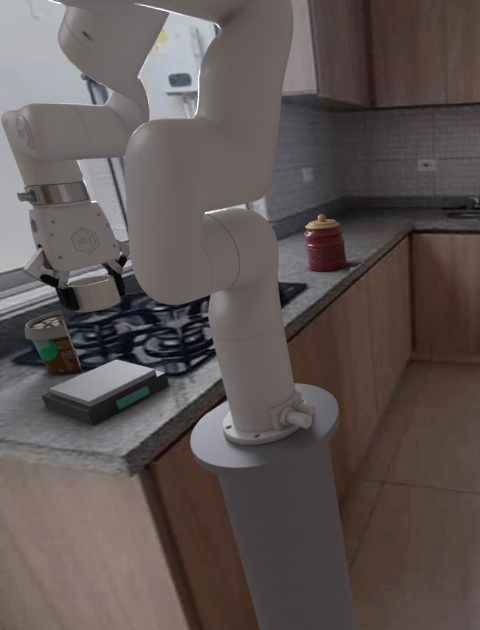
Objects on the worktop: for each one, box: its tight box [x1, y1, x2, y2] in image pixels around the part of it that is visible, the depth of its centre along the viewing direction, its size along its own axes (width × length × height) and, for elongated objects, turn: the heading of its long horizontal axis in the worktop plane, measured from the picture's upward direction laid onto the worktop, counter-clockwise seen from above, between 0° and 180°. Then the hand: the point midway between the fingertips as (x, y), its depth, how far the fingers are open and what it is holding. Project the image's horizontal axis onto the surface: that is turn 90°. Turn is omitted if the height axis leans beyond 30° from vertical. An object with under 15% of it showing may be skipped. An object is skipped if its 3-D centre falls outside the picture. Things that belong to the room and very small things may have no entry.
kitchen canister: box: [303, 213, 348, 272], centre depth 147 cm, size 13×13×18 cm
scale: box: [41, 359, 170, 426], centre depth 75 cm, size 14×13×4 cm
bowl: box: [68, 274, 122, 313], centre depth 75 cm, size 7×7×4 cm
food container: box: [24, 310, 82, 376], centre depth 85 cm, size 12×6×10 cm, turn 40°
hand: (96, 301), depth 76 cm, fingers closed on bowl, 6 cm apart
